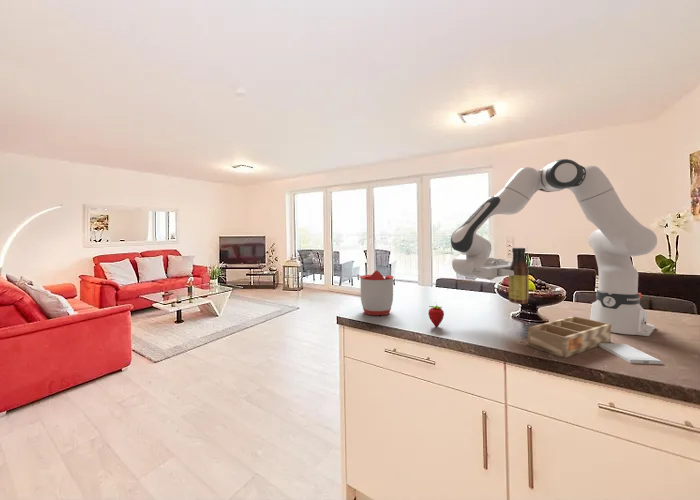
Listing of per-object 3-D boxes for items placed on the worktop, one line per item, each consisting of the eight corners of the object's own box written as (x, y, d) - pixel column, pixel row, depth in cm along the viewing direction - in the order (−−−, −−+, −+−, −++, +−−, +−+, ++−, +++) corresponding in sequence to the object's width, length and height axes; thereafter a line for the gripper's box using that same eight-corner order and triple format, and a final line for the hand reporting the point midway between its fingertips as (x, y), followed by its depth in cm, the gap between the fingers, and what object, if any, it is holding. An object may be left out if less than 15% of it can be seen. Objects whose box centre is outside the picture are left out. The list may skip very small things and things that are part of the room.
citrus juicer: (398, 309, 143) (398, 268, 142) (388, 319, 127) (388, 273, 126) (368, 306, 150) (368, 267, 148) (354, 315, 134) (354, 271, 133)
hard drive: (598, 342, 95) (630, 359, 83) (626, 343, 94) (662, 360, 82) (598, 347, 96) (629, 364, 83) (626, 348, 95) (662, 366, 82)
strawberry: (428, 329, 113) (428, 303, 113) (428, 323, 121) (428, 299, 120) (444, 330, 112) (444, 304, 111) (443, 324, 119) (443, 300, 118)
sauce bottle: (517, 300, 111) (519, 247, 110) (532, 303, 105) (534, 248, 104) (503, 301, 109) (505, 247, 108) (518, 305, 103) (520, 248, 102)
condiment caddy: (573, 332, 109) (573, 316, 109) (612, 342, 99) (613, 324, 98) (527, 345, 97) (528, 327, 96) (566, 358, 86) (567, 338, 86)
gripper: (469, 262, 113) (502, 265, 100) (504, 259, 122) (538, 261, 110) (469, 278, 113) (501, 284, 101) (503, 274, 122) (537, 278, 110)
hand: (521, 272), depth 105 cm, fingers closed on sauce bottle, 6 cm apart
